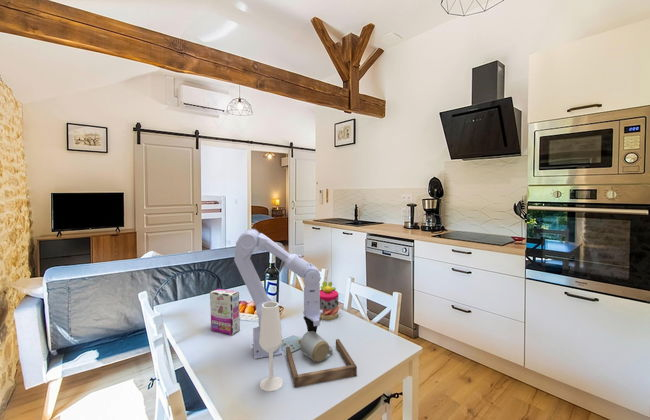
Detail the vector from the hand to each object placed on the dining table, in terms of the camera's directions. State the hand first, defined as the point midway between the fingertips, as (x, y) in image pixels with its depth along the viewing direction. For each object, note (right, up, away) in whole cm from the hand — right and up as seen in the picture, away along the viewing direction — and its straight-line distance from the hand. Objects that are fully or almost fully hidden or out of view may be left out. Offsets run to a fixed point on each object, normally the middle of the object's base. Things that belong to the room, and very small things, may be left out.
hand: (312, 336), depth 104 cm
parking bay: (+3, -5, -9) cm, 11 cm away
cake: (+6, -3, +28) cm, 28 cm away
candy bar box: (-36, -4, +14) cm, 39 cm away
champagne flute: (-11, -6, -19) cm, 23 cm away
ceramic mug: (+2, -5, -4) cm, 7 cm away
